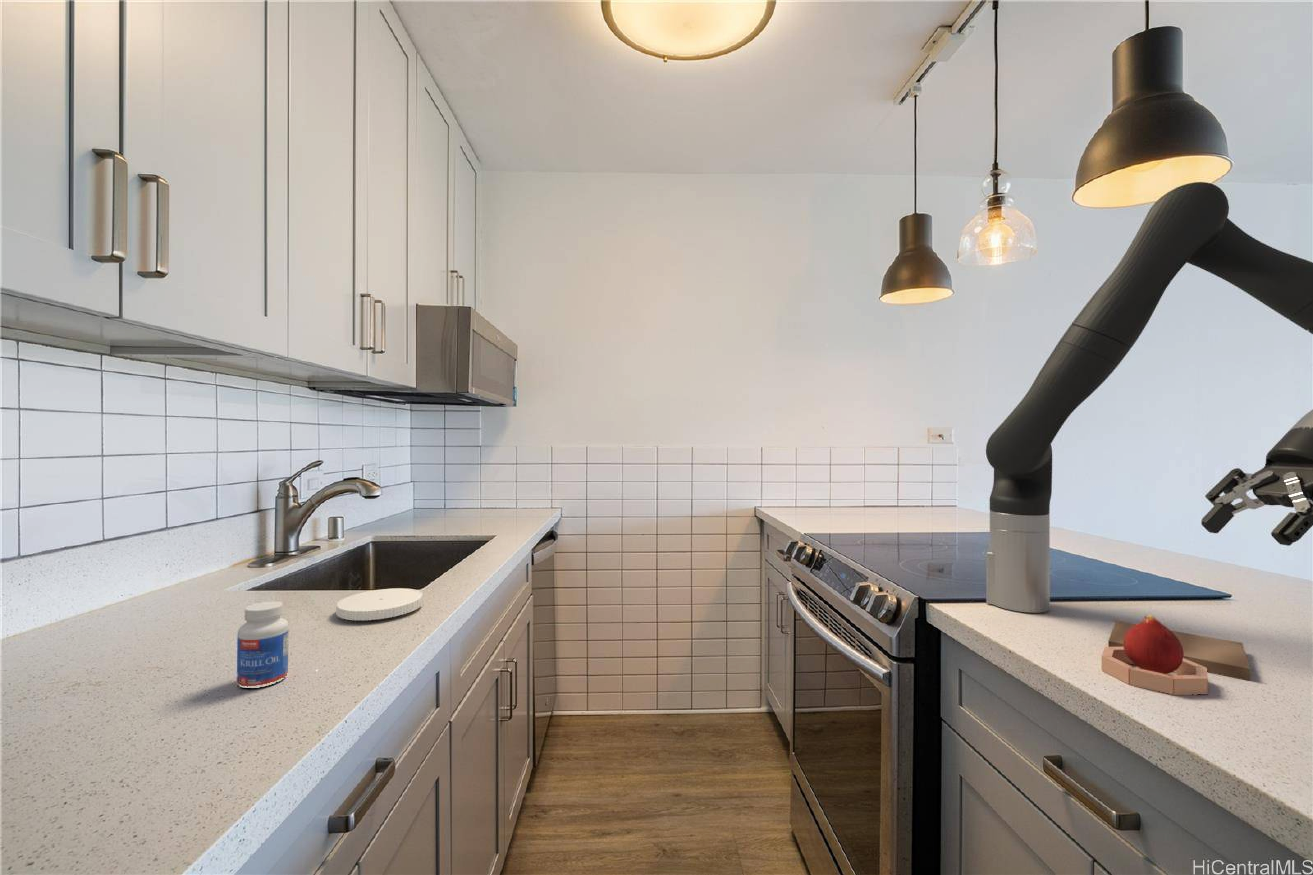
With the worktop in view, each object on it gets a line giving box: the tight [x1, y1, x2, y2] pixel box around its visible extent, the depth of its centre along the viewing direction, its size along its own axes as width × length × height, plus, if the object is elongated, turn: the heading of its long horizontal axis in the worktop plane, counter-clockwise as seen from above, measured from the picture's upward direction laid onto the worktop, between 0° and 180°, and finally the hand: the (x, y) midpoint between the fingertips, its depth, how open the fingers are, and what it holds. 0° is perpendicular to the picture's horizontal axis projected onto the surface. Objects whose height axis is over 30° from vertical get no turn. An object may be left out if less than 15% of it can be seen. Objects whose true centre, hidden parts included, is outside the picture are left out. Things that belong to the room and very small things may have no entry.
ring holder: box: [1101, 646, 1209, 696], centre depth 71 cm, size 10×10×2 cm
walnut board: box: [1107, 620, 1251, 681], centre depth 79 cm, size 14×12×2 cm
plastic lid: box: [335, 587, 424, 621], centre depth 99 cm, size 14×14×2 cm
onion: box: [1123, 614, 1184, 675], centre depth 71 cm, size 6×6×8 cm
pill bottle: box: [236, 601, 290, 687], centre depth 71 cm, size 6×5×10 cm
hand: (1241, 534), depth 72 cm, fingers open, 8 cm apart
